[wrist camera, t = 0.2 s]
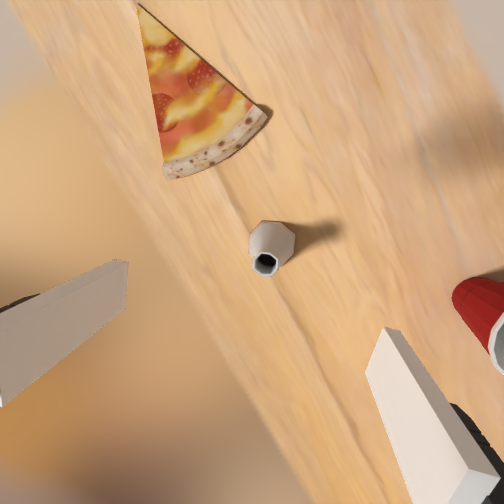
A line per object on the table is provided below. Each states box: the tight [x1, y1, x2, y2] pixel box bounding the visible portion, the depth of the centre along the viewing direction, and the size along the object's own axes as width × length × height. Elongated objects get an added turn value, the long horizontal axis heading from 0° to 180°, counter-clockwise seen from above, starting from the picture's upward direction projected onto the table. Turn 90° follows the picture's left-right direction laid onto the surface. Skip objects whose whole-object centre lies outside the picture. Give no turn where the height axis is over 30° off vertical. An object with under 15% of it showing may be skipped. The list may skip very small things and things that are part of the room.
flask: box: [249, 221, 296, 277], centre depth 37 cm, size 7×7×10 cm
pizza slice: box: [136, 3, 268, 180], centre depth 36 cm, size 16×22×2 cm
